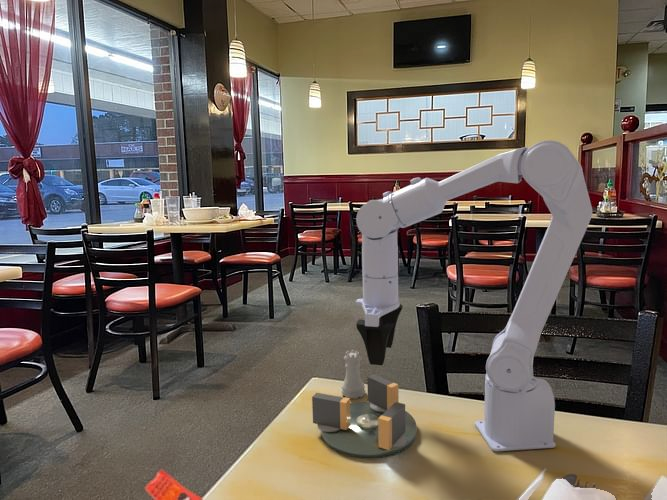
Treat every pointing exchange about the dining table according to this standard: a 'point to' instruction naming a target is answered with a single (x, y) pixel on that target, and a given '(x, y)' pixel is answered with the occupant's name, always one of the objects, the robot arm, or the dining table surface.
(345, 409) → the knob
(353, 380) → the rook chess piece
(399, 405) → the knob
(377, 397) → the grey block
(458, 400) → the dining table surface
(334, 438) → the base plate
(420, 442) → the dining table surface
